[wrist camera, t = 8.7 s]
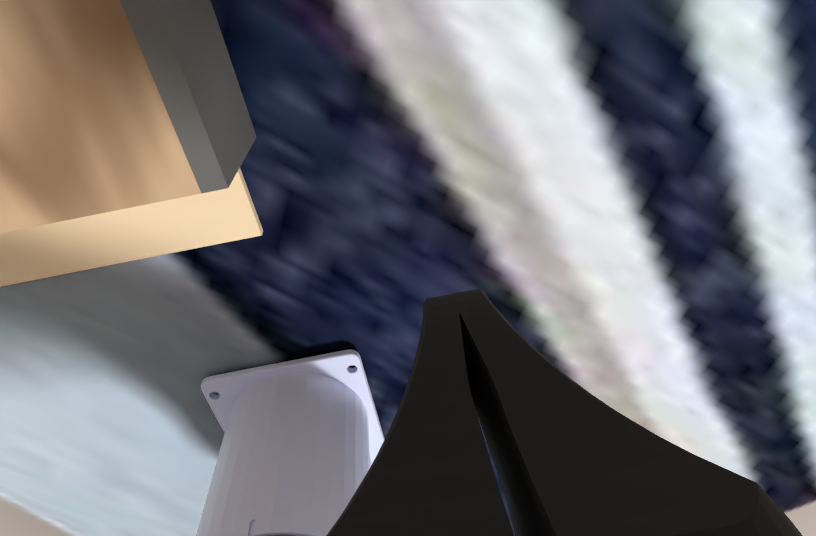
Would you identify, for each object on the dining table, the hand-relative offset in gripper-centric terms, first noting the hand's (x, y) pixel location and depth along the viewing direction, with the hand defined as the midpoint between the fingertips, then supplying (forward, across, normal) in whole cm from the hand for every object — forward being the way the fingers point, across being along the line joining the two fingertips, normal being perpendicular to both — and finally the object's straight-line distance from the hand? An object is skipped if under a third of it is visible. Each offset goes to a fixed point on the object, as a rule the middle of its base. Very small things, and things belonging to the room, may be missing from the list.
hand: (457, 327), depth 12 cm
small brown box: (+8, +6, -6) cm, 11 cm away
